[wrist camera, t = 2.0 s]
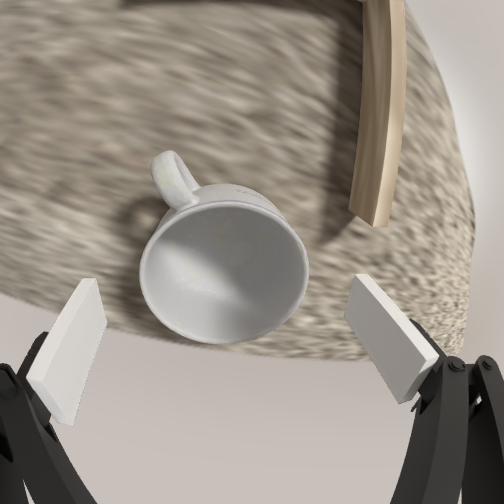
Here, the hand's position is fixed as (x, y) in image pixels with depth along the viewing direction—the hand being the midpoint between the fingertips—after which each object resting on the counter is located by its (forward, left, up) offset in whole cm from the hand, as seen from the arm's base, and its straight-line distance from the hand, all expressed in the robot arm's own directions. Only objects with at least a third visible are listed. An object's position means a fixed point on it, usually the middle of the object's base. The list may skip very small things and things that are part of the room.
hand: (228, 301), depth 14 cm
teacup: (0, 0, -12) cm, 12 cm away
